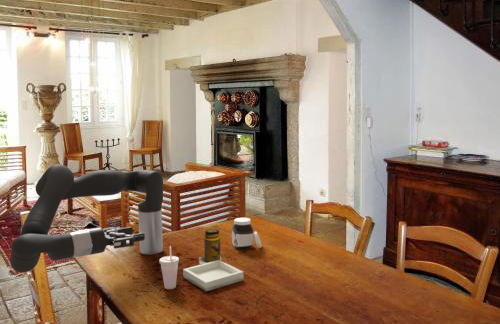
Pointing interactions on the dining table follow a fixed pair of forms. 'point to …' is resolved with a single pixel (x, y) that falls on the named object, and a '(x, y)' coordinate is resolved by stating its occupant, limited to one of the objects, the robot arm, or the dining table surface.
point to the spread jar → (244, 234)
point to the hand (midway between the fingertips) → (138, 233)
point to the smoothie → (169, 270)
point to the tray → (213, 275)
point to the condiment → (211, 246)
